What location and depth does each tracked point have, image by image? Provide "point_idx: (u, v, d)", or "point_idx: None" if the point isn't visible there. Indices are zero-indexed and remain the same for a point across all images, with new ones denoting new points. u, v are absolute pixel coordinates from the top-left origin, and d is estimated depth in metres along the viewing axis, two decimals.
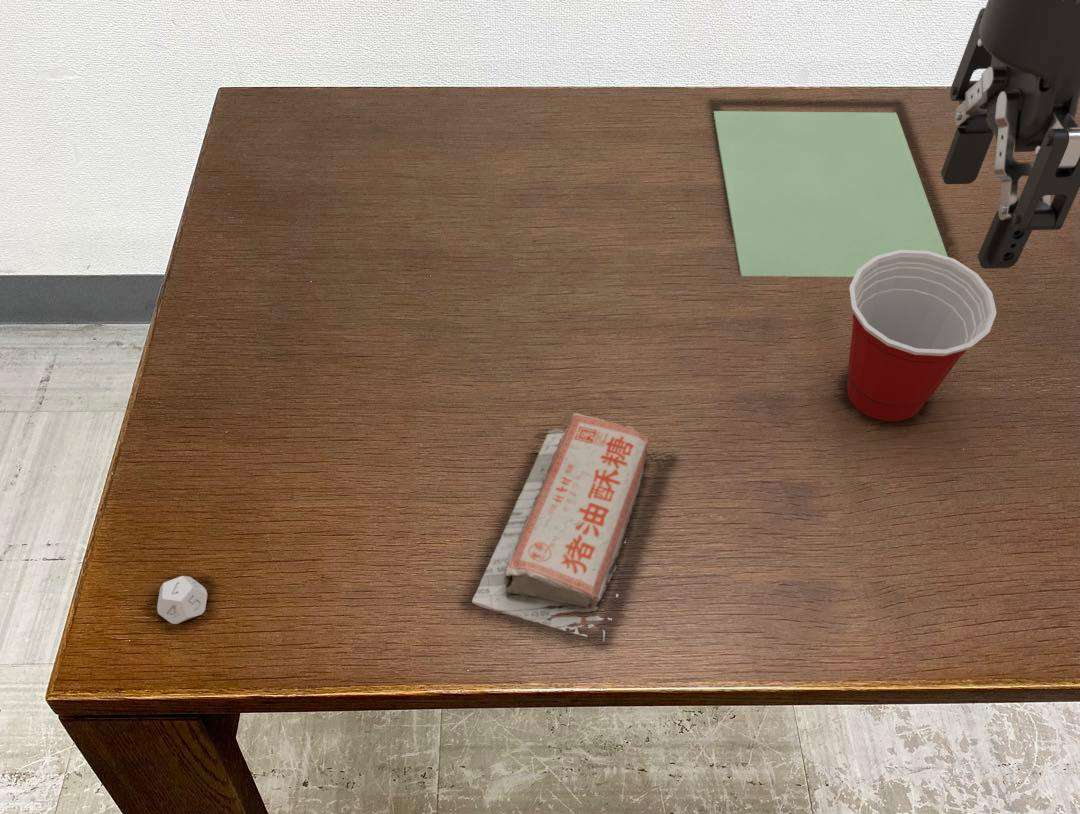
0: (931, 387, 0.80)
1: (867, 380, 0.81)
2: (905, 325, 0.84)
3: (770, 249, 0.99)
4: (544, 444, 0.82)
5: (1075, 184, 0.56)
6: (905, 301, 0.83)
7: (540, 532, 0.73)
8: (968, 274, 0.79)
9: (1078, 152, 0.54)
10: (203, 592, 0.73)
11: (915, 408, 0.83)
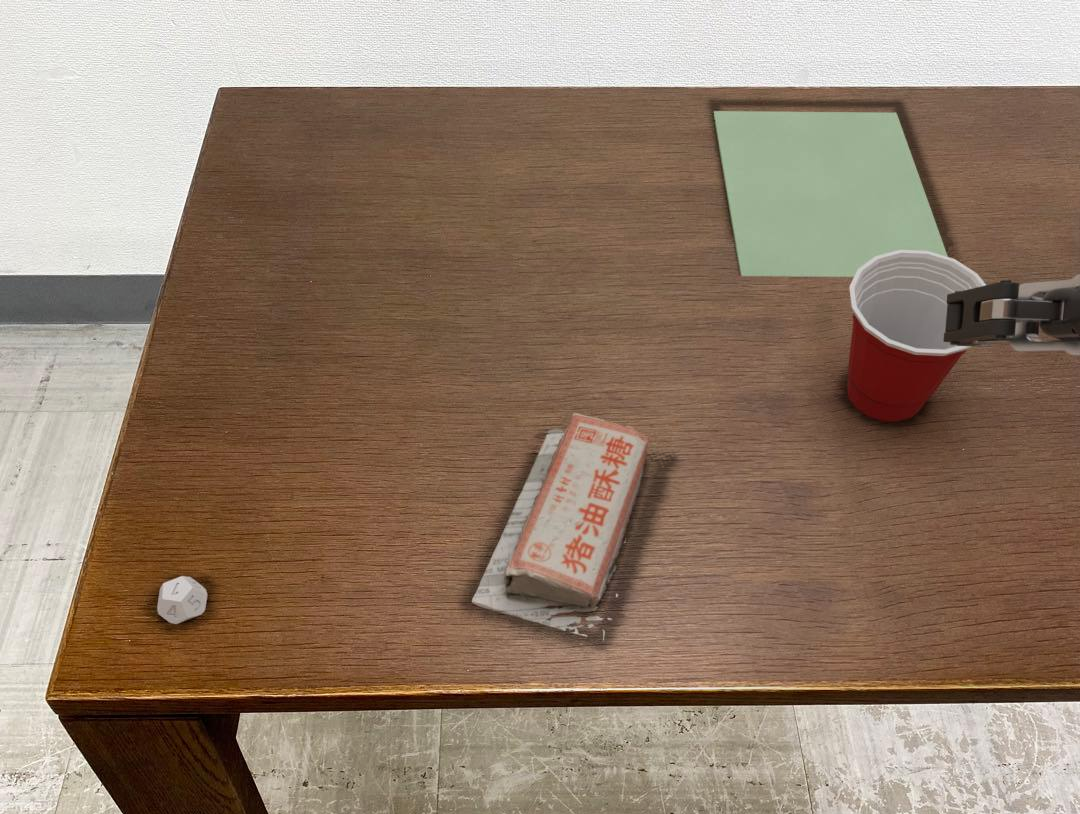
0: (931, 387, 0.80)
1: (867, 380, 0.81)
2: (905, 325, 0.84)
3: (770, 249, 0.99)
4: (544, 444, 0.82)
5: None
6: (905, 301, 0.83)
7: (540, 532, 0.73)
8: (968, 274, 0.79)
9: None
10: (203, 592, 0.73)
11: (915, 408, 0.83)
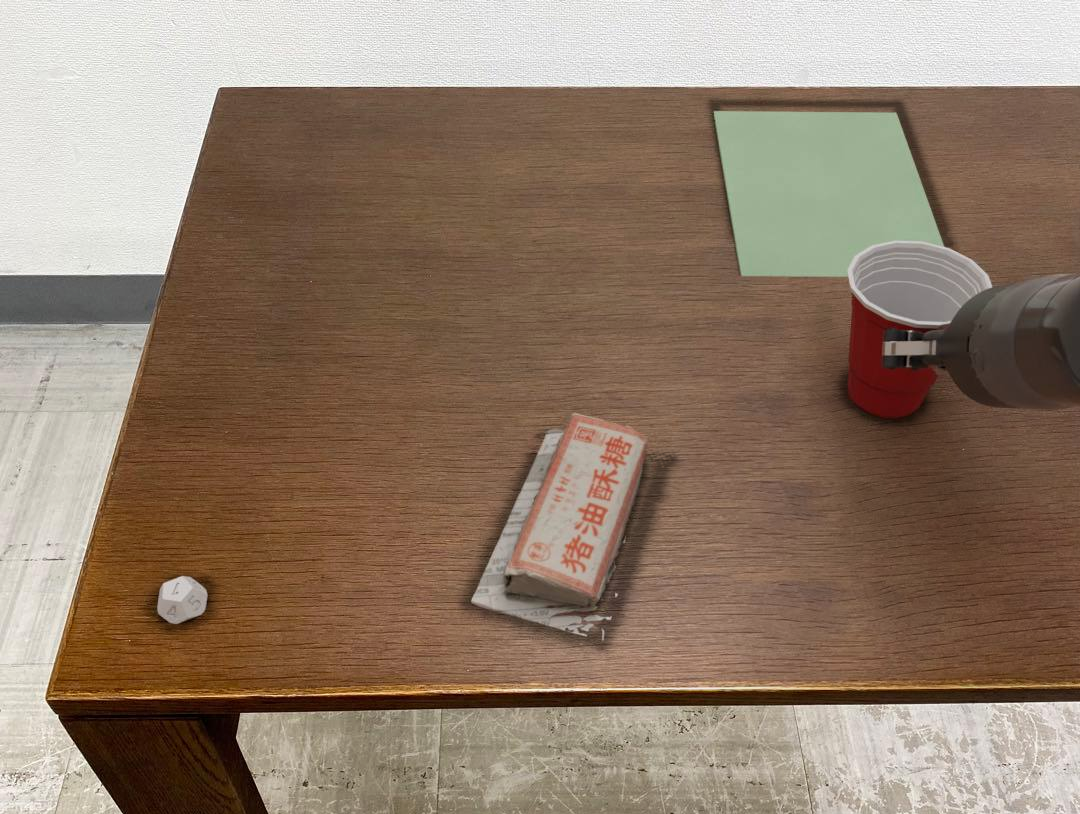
0: (933, 371, 0.80)
1: (868, 366, 0.81)
2: None
3: (770, 249, 0.99)
4: (543, 444, 0.82)
5: None
6: (902, 294, 0.84)
7: (540, 531, 0.73)
8: (963, 261, 0.80)
9: None
10: (203, 592, 0.73)
11: (917, 397, 0.83)
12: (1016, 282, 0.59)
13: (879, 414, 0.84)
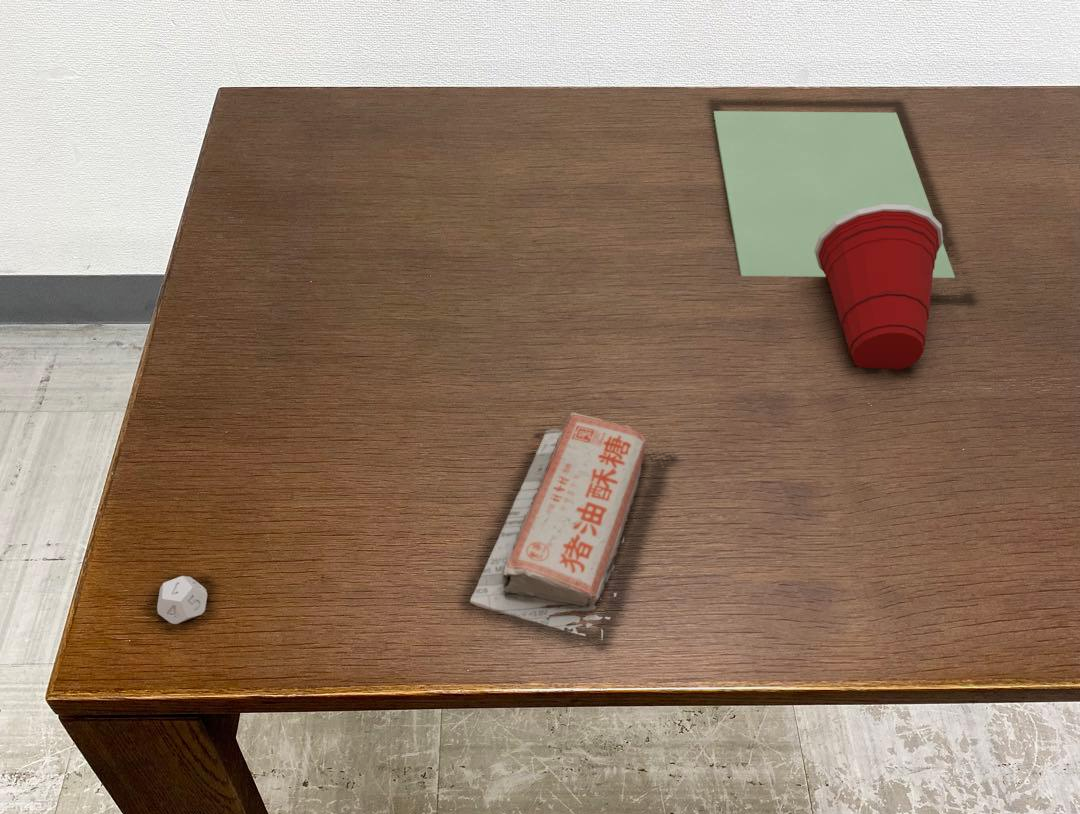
0: (919, 276, 0.85)
1: (858, 282, 0.86)
2: None
3: (770, 249, 0.99)
4: (542, 444, 0.82)
5: None
6: None
7: (538, 531, 0.73)
8: None
9: None
10: (203, 592, 0.73)
11: (916, 308, 0.84)
12: None
13: (886, 324, 0.84)
